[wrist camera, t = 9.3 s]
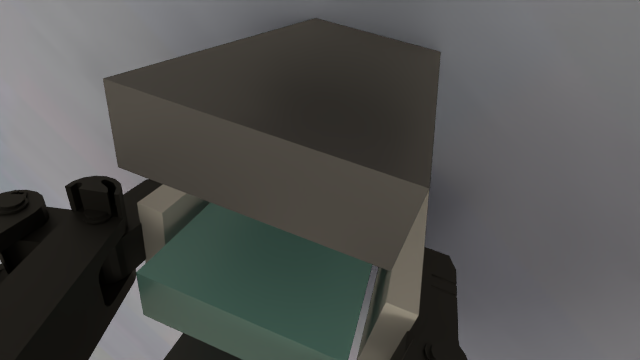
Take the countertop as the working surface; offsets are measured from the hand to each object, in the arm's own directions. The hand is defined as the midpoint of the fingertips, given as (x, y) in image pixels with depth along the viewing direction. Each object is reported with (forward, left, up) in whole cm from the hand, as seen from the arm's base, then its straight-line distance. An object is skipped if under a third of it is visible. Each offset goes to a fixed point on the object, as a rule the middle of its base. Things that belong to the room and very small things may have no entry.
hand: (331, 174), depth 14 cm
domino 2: (0, 0, -2) cm, 2 cm away
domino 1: (+5, 0, -2) cm, 5 cm away
